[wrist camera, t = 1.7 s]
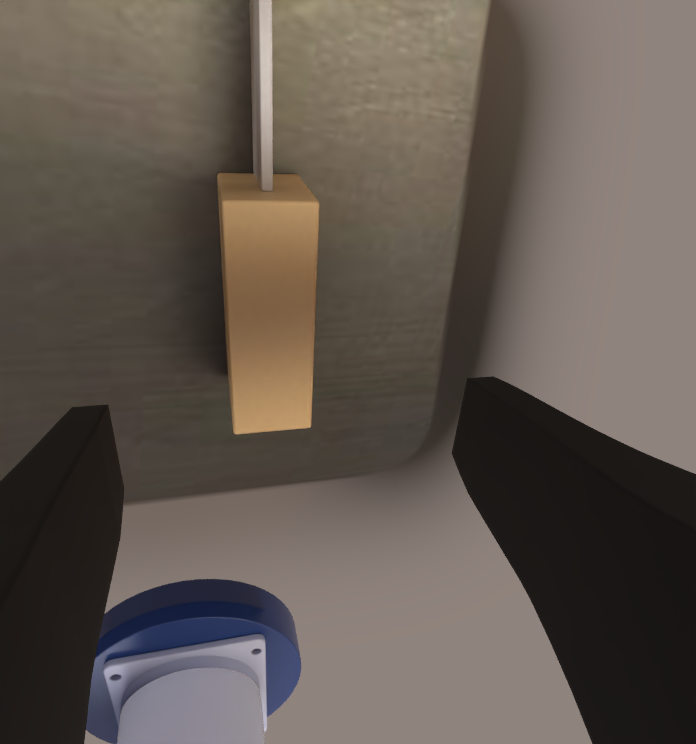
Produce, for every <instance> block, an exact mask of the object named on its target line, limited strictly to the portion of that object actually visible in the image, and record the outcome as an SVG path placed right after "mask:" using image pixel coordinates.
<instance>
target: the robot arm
mask: <svg viewBox="0 0 696 744" xmlns="http://www.w3.org/2000/svg"><path fill="white" fill-rule="evenodd" d="M452 455H453V458H454V460H455V463H456V465H457V468H458V470H459V473H460V475H461V478H462V480H463V482H464V485H465V487H466V489H467V491H468V493H469V495H470V497H471V499H472V500H473V502H474V504H475V506H476V507H477V509H478V511H479V512H480V514H481V516H482V518H483V519H484V521H485V523H486V524H487V526H488V528H489V529H490V531H491V533H492V534H493V536H494V538H495V539H496V541H497V543H498V544H499V546H500V548H501V549H502V551H503V553H504V554H505V556H506V558H507V559H508V561H509V563H510V564H511V566H512V568H513V569H514V571H515V573H516V574H517V576H518V578H519V579H520V581H521V583H522V585H523V587H524V588H525V590H526V592H527V594H528V596H529V598H530V600H531V602H532V604H533V606H534V608H535V610H536V612H537V614H538V617H539V619H540V621H541V623H542V625H543V627H544V629H545V631H546V634H547V636H548V638H549V640H550V642H551V644H552V647H553V649H554V651H555V654H556V656H557V658H558V660H559V663H560V665H561V667H562V670H563V672H564V674H565V677H566V679H567V681H568V684H569V686H570V688H571V691H572V693H573V695H574V698H575V701H576V703H577V705H578V708H579V711H580V713H581V716H582V718H583V721H584V723H585V726H586V728H587V731H588V733H589V736H590V739H591V741H592V744H696V474H694V473H691V472H688V471H686V470H684V469H681V468H679V467H676V466H674V465H671V464H669V463H666V462H664V461H662V460H659V459H657V458H654V457H652V456H650V455H647V454H645V453H643V452H640V451H638V450H636V449H634V448H632V447H630V446H628V445H625V444H623V443H621V442H619V441H617V440H615V439H613V438H611V437H609V436H607V435H605V434H603V433H601V432H599V431H597V430H595V429H593V428H591V427H589V426H587V425H585V424H583V423H581V422H579V421H578V420H576V419H574V418H572V417H570V416H568V415H566V414H565V413H563V412H560V411H559V410H557V409H555V408H554V407H552V406H550V405H548V404H546V403H544V402H543V401H541V400H539V399H537V398H535V397H533V396H532V395H530V394H528V393H526V392H524V391H522V390H520V389H518V388H517V387H514V386H513V385H511V384H509V383H506V382H504V381H502V380H500V379H498V378H495V377H481V378H468V379H467V382H466V387H465V392H464V397H463V402H462V407H461V412H460V417H459V421H458V426H457V431H456V436H455V441H454V446H453V450H452ZM123 498H124V485H123V480H122V475H121V470H120V464H119V459H118V454H117V449H116V444H115V438H114V433H113V428H112V423H111V417H110V412H109V407H108V405H97V406H84V407H72V408H71V409H70V410H69V411H68V412H67V413H66V414H65V415H64V416H63V417H62V418H61V419H60V420H59V421H58V422H57V423H56V424H55V426H54V427H53V428H52V429H51V430H50V431H49V432H48V433H47V434H46V435H45V436H44V437H43V438H42V439H41V440H40V441H39V443H38V444H37V445H36V446H35V447H34V448H33V449H32V450H31V451H30V452H29V453H28V454H27V455H26V456H25V457H24V458H23V459H22V460H21V461H20V462H19V463H18V464H17V465H16V466H15V467H14V468H13V469H12V470H11V471H10V472H9V473H8V474H7V475H6V476H5V477H4V478H3V479H2V480H1V481H0V744H84V740H85V730H86V722H87V713H88V704H89V695H90V686H91V678H92V672H93V666H94V660H95V654H96V649H97V644H98V640H99V635H100V630H101V626H102V621H103V616H104V611H105V607H106V602H107V597H108V593H109V589H110V584H111V579H112V575H113V570H114V565H115V560H116V556H117V551H118V546H119V541H120V534H121V524H122V511H123ZM103 674H104V677H105V681H106V684H107V688H108V691H109V695H110V699H111V702H112V706H113V709H114V713H115V716H116V720H117V724H118V727H119V730H118V739H117V744H265V737H264V732H265V731H266V730H267V696H266V645H265V637H264V636H263V635H262V634H252V635H246V636H240V637H235V638H229V639H223V640H218V641H212V642H206V643H201V644H195V645H189V646H184V647H178V648H172V649H166V650H161V651H155V652H149V653H144V654H138V655H132V656H127V657H121V658H115V659H111V660H109V661H107V662H106V663H105V664H104V670H103Z"/></svg>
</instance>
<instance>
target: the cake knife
mask: <svg viewBox="0 0 696 744" xmlns="http://www.w3.org/2000/svg"><path fill="white" fill-rule="evenodd" d="M250 45H251V89H252V134H253V172H254V174H252V173H218V174H217V185H218V203H219V221H220V240H221V258H222V276H223V294H224V313H225V331H226V349H227V367H228V382H229V392H230V402H231V412H232V423H233V432H234V434H245V433H256V432H267V431H278V430H290V429H301V428H310V427H311V416H312V390H313V363H314V337H315V310H316V283H317V257H318V230H319V201H318V200H317V199H316V198H315V196H314V195H313V194H312V192H311V191H310V190H309V189H308V187H307V186H306V185H305V183H304V182H303V181H302V180H301V178H300V177H299V176H298V175H296V174H273V91H272V0H250Z"/></svg>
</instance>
